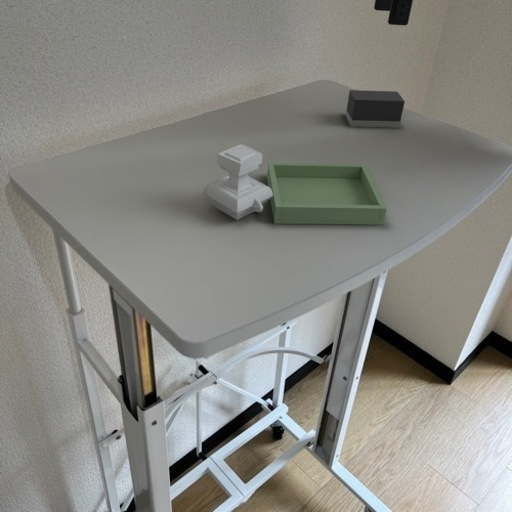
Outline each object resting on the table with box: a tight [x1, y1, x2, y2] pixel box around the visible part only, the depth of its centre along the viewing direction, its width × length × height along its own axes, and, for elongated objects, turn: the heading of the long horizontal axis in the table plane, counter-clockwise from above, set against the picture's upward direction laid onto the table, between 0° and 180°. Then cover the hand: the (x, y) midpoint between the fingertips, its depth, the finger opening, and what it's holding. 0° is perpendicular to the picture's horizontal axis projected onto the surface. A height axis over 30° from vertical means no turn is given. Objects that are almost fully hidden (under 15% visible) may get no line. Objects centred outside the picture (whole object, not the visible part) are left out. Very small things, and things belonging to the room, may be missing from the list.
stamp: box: [202, 143, 273, 221], centre depth 72 cm, size 9×7×8 cm
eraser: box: [345, 89, 406, 129], centre depth 101 cm, size 9×5×5 cm, turn 93°
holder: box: [266, 162, 387, 226], centre depth 77 cm, size 15×13×3 cm
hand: (389, 17), depth 92 cm, fingers open, 9 cm apart
